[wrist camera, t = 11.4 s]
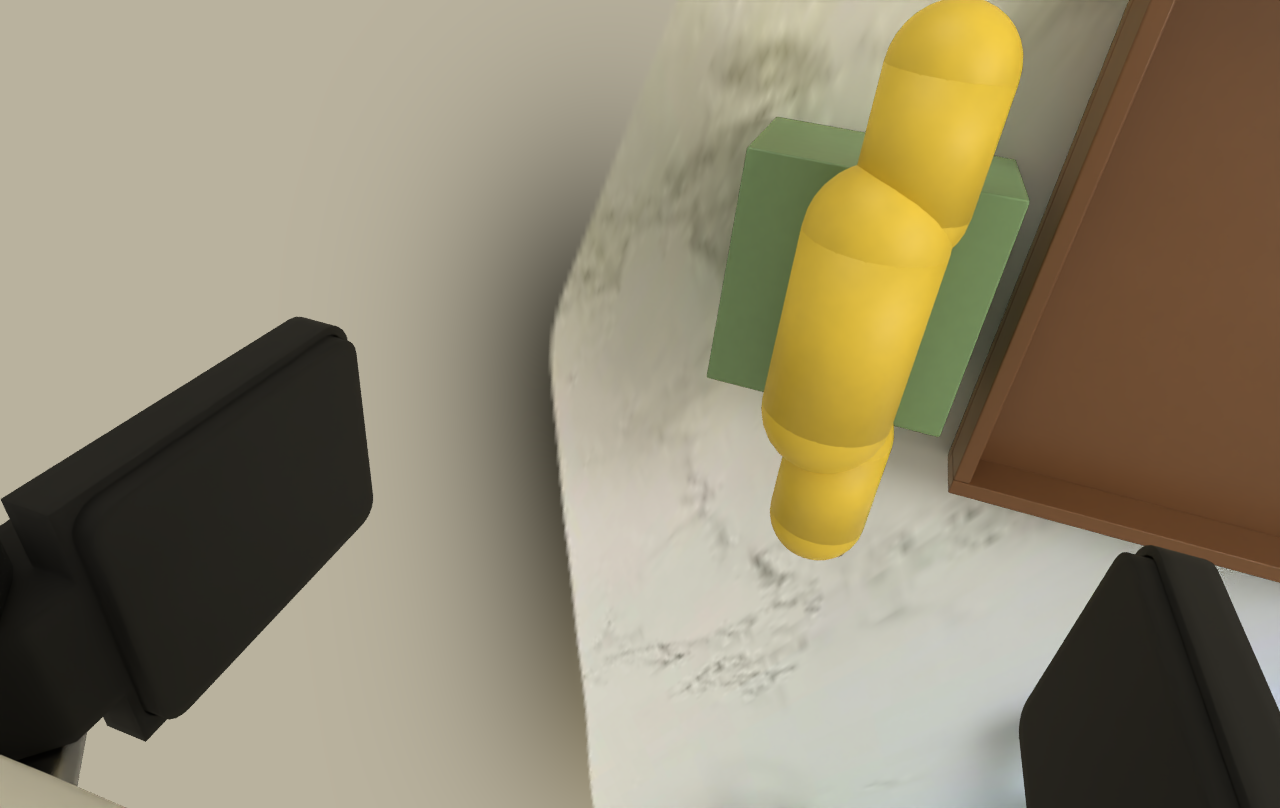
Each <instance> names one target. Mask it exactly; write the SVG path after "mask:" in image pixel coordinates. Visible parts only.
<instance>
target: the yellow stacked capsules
mask: <svg viewBox="0 0 1280 808" xmlns="http://www.w3.org/2000/svg"><path fill="white" fill-rule="evenodd" d="M1022 68H1023V50H1022V43H1021V39H1020V36H1019V34H1018V31H1017V29H1016V27H1015V25H1014V24H1013V23H1012V21H1011V20H1010V18H1009V17H1008V16H1007V15H1006V14H1005V13H1004V12H1003V11H1001V10H1000V9H999V8H998V7H996V6H994V5H992V4H991V3H989V2H987V1H984V0H941V1H939V2H936V3H933V4H931V5H929V6H927V7H925V8H924V9H922V10H920V11H919V12H917V13H916V14H915V15H914V16H912V17H911V18H910V19H909V20H908V21H907V22H906V23H905V24H904V25H903V26H902V27H901V29H900V30H899V31H898V32H897V34H896V35H895V37H894V39H893V40H892V42H891V44H890V46H889V48H888V51H887V54H886V57H885V59H884V62H883V66H882V70H881V74H880V78H879V82H878V86H877V90H876V94H875V98H874V101H873V105H872V109H871V113H870V117H869V121H868V125H867V129H866V133H865V137H864V140H863V144H862V148H861V152H860V156H859V160H858V164H857V165H855V166H852V167H850V168H848V169H846V170H844V171H842V172H840V173H838V174H837V175H836V176H835V177H833V178H832V179H831V180H829V181H828V182H827V183H826V184H824V186H823V187H822V188H821V189H820V190H819V191H818V192H817V194H816V195H815V196H814V198H813V199H812V201H811V203H810V205H809V206H808V208H807V211H806V214H805V217H804V220H803V223H802V226H801V230H800V235H799V239H798V243H797V248H796V252H795V257H794V261H793V266H792V270H791V274H790V279H789V283H788V288H787V292H786V296H785V301H784V305H783V310H782V314H781V318H780V323H779V327H778V332H777V336H776V340H775V345H774V349H773V354H772V358H771V362H770V367H769V371H768V376H767V380H766V384H765V389H764V393H763V398H762V407H761V409H762V418H763V425H764V428H765V431H766V433H767V436H768V438H769V440H770V442H771V443H772V444H773V446H774V447H775V449H776V450H777V451H778V453H779V454H780V455H782V456H783V457H782V461H781V465H780V468H779V472H778V476H777V480H776V484H775V488H774V492H773V496H772V500H771V506H770V517H771V524H772V526H773V529H774V531H775V534H776V536H777V537H778V539H779V540H780V541H781V543H782V544H783V545H784V546H785V547H786V548H787V549H789V550H790V551H791V552H793V553H794V554H796V555H798V556H801V557H803V558H807V559H811V560H827V559H832V558H835V557H839V556H841V555H843V554H844V553H845V552H846V551H848V550H849V549H851V547H852V546H853V545H854V544H855V543H856V542H857V541H858V539H859V537H860V535H861V533H862V531H863V529H864V526H865V523H866V520H867V517H868V515H869V512H870V509H871V506H872V503H873V500H874V497H875V494H876V492H877V489H878V486H879V483H880V480H881V477H882V474H883V472H884V469H885V466H886V463H887V460H888V457H889V454H890V451H891V449H892V445H893V440H894V424H893V422H894V419H895V416H896V413H897V410H898V408H899V405H900V402H901V399H902V396H903V393H904V390H905V387H906V384H907V381H908V378H909V375H910V372H911V370H912V367H913V364H914V361H915V358H916V355H917V352H918V349H919V346H920V343H921V340H922V337H923V335H924V332H925V329H926V326H927V323H928V320H929V317H930V314H931V311H932V308H933V305H934V302H935V300H936V297H937V294H938V291H939V288H940V285H941V282H942V279H943V276H944V273H945V270H946V267H947V264H948V262H949V259H950V255H951V251H952V248H953V247H954V246H955V245H956V244H957V243H958V242H959V241H960V239H961V238H962V237H963V235H964V234H965V232H966V230H967V228H968V225H969V223H970V221H971V219H972V216H973V213H974V211H975V208H976V205H977V202H978V199H979V196H980V193H981V191H982V188H983V185H984V182H985V179H986V176H987V173H988V170H989V168H990V165H991V162H992V159H993V156H994V153H995V150H996V147H997V145H998V142H999V139H1000V136H1001V133H1002V130H1003V127H1004V125H1005V122H1006V119H1007V116H1008V113H1009V110H1010V107H1011V104H1012V102H1013V99H1014V96H1015V93H1016V90H1017V87H1018V84H1019V80H1020V76H1021V72H1022Z"/></svg>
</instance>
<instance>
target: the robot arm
mask: <svg viewBox="0 0 1280 808" xmlns="http://www.w3.org/2000/svg"><path fill="white" fill-rule="evenodd" d="M1 501H2V503H3V505H4V507H5V510H6V512H7V514H8V516H9V518H10V520H8V521H7V522H5V523H4V524H2V525H1V526H0V808H125V807H123V806H121V805H118V804H116V803H114V802H112V801H109V800H107V799H105V798H102V797H100V796H98V795H95V794H93V793H91V792H88V791H86V790H84V789H81V788H79V787H77V785H78V780H79V774H80V768H81V763H82V756H83V752H84V746H85V741H86V735H87V732H88V731H89V730H90V729H91V728H92V727H93V726H94V725H95V724H96V723H97V722H98V721H99V720H100V719H101V718H102V717H104V720H105V722H106V724H107V726H110V727H112V728H114V729H117V730H119V731H122V732H124V733H126V734H129V735H131V736H133V737H136V738H138V739H141V740H143V741H147V740H148V739H149V738H150V737H151V736H152V734H153V733H154V732H155V731H156V730H157V729H158V728H159V727H160V726H161V725H162V724H163V723H164V722H165V721H166V720H167V719H173V718H177V717H178V716H180V715H182V714H183V713H185V712H186V711H187V710H188V709H189V708H190V707H191V706H192V705H193V704H194V703H195V702H196V701H197V700H198V699H199V697H200V696H201V695H202V694H203V693H204V692H205V691H206V690H207V689H208V688H209V687H210V685H212V684H213V683H214V682H215V680H216V679H217V678H218V677H219V676H220V675H221V674H222V673H223V672H224V671H225V670H226V669H227V668H228V667H229V666H230V665H231V663H232V662H233V661H234V660H235V659H236V658H237V657H238V656H239V655H240V654H241V653H242V652H243V651H244V650H245V648H247V646H248V645H249V644H250V643H251V642H252V641H253V640H254V639H255V638H256V637H257V635H259V634H260V633H261V631H263V629H264V628H265V627H266V626H267V625H268V624H269V623H270V622H271V621H272V620H273V619H274V618H275V617H276V616H277V614H278V613H279V612H280V611H281V610H282V609H283V608H284V607H285V606H286V605H287V604H288V603H289V602H290V601H291V599H293V597H295V595H296V594H297V593H298V592H299V591H300V590H301V589H302V588H303V587H304V586H305V585H306V584H307V582H309V580H311V578H312V577H313V576H314V575H315V574H316V573H317V572H318V571H319V570H320V569H321V568H322V567H323V566H324V565H325V564H326V562H327V561H328V560H329V559H330V558H331V557H332V556H333V555H334V554H335V553H336V552H337V551H338V550H339V549H340V547H342V545H343V544H344V543H345V542H346V541H347V540H348V539H349V538H350V537H351V536H352V535H353V534H354V533H355V532H356V531H357V530H358V528H359V527H360V526H361V525H362V524H363V523H364V522H365V520H366V519H367V517H368V515H369V513H370V510H371V508H372V503H373V493H372V483H371V474H370V467H369V458H368V449H367V440H366V432H365V424H364V415H363V406H362V398H361V390H360V381H359V372H358V363H357V355H356V351H355V347H354V345H353V344H352V343H351V342H349V341H348V340H347V337H346V334H345V333H344V331H343V330H342V329H340V328H339V327H337V326H333V325H330V324H326V323H322V322H318V321H315V320H311V319H307V318H303V317H294V318H292V319H289V320H287V321H286V322H284V323H283V324H281V325H280V326H278V327H277V328H275V329H273V330H271V331H270V332H268V333H267V334H265V335H263V336H262V337H260V338H259V339H257V340H255V341H254V342H252V343H251V344H249V345H248V346H246V347H244V348H243V349H241V350H239V351H238V352H236V353H235V354H233V355H231V356H230V357H228V358H227V359H225V360H223V361H222V362H220V363H218V364H217V365H215V366H214V367H212V368H210V369H209V370H207V371H206V372H204V373H202V374H201V375H199V376H198V377H196V378H195V379H193V380H191V381H190V382H188V383H186V384H185V385H183V386H182V387H180V388H178V389H177V390H175V391H174V392H172V393H170V394H169V395H167V396H166V397H164V398H162V399H161V400H159V401H157V402H156V403H154V404H153V405H151V406H149V407H148V408H146V409H145V410H143V411H141V412H140V413H138V414H137V415H135V416H133V417H132V418H130V419H129V420H127V421H125V422H124V423H122V424H121V425H119V426H117V427H116V428H114V429H113V430H111V431H109V432H108V433H106V434H104V435H103V436H101V437H100V438H98V439H96V440H95V441H93V442H92V443H90V444H88V445H87V446H85V447H84V448H82V449H80V450H79V451H77V452H76V453H74V454H72V455H71V456H69V457H68V458H66V459H64V460H63V461H61V462H60V463H58V464H56V465H55V466H53V467H52V468H50V469H48V470H47V471H45V472H44V473H42V474H40V475H39V476H37V477H35V478H34V479H32V480H31V481H29V482H27V483H26V484H24V485H23V486H21V487H19V488H18V489H16V490H15V491H13V492H11V493H10V494H8V495H7V496H5V497H3V498H2V499H1ZM1019 740H1020V750H1021V759H1022V768H1023V778H1024V787H1025V797H1026V806H1027V808H1280V711H1279V709H1278V707H1277V704H1276V702H1275V700H1274V698H1273V695H1272V693H1271V691H1270V688H1269V686H1268V684H1267V682H1266V679H1265V677H1264V675H1263V672H1262V670H1261V668H1260V666H1259V663H1258V661H1257V659H1256V656H1255V654H1254V652H1253V650H1252V647H1251V645H1250V643H1249V640H1248V638H1247V636H1246V634H1245V631H1244V629H1243V627H1242V624H1241V622H1240V620H1239V618H1238V615H1237V613H1236V611H1235V609H1234V606H1233V604H1232V602H1231V599H1230V597H1229V595H1228V593H1227V590H1226V588H1225V586H1224V583H1223V581H1222V579H1221V577H1220V574H1219V572H1218V570H1217V568H1216V567H1215V565H1214V564H1213V563H1212V562H1210V561H1208V560H1206V559H1202V558H1199V557H1195V556H1191V555H1187V554H1184V553H1180V552H1176V551H1173V550H1169V549H1165V548H1161V547H1158V546H1154V545H1145V546H1144V547H1142V548H1141V549H1139V550H1138V552H1137V553H1136V554H1131V553H1128V552H1124V553H1121V554H1120V555H1118V556H1117V558H1116V559H1115V560H1114V562H1113V563H1112V565H1111V566H1110V568H1109V570H1108V571H1107V573H1106V574H1105V576H1104V578H1103V579H1102V581H1101V582H1100V584H1099V586H1098V587H1097V589H1096V590H1095V592H1094V594H1093V595H1092V597H1091V598H1090V600H1089V602H1088V603H1087V605H1086V606H1085V608H1084V610H1083V611H1082V613H1081V614H1080V616H1079V618H1078V619H1077V621H1076V622H1075V624H1074V626H1073V627H1072V629H1071V630H1070V632H1069V634H1068V635H1067V637H1066V638H1065V640H1064V642H1063V643H1062V645H1061V646H1060V648H1059V650H1058V651H1057V653H1056V655H1055V656H1054V658H1053V659H1052V661H1051V663H1050V664H1049V666H1048V667H1047V669H1046V671H1045V672H1044V674H1043V675H1042V677H1041V679H1040V680H1039V682H1038V683H1037V685H1036V687H1035V688H1034V690H1033V691H1032V693H1031V695H1030V696H1029V698H1028V699H1027V701H1026V703H1025V705H1024V707H1023V710H1022V713H1021V718H1020V724H1019Z"/></svg>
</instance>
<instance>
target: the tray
mask: <svg viewBox="0 0 1280 808" xmlns="http://www.w3.org/2000/svg"><path fill="white" fill-rule="evenodd" d="M948 492H949V493H953V494H956V495H960V496H964V497H967V498H971V499H975V500H978V501H982V502H986V503H989V504H993V505H997V506H1000V507H1004V508H1008V509H1011V510H1015V511H1019V512H1022V513H1026V514H1030V515H1033V516H1037V517H1041V518H1044V519H1048V520H1052V521H1055V522H1059V523H1063V524H1066V525H1070V526H1074V527H1077V528H1081V529H1085V530H1088V531H1092V532H1096V533H1099V534H1103V535H1107V536H1110V537H1114V538H1118V539H1121V540H1125V541H1129V542H1132V543H1136V544H1140V545H1143V546H1145V545H1154V546H1158V547H1161V548H1165V549H1169V550H1173V551H1176V552H1180V553H1184V554H1187V555H1191V556H1195V557H1199V558H1202V559H1206V560H1208V561H1210V562H1212V563H1213V564H1214V565H1217V566H1220V567H1224V568H1228V569H1231V570H1235V571H1239V572H1242V573H1246V574H1250V575H1253V576H1257V577H1261V578H1264V579H1268V580H1272V581H1275V582H1279V583H1280V0H1129V2H1128V4H1127V7H1126V9H1125V12H1124V14H1123V17H1122V19H1121V22H1120V24H1119V27H1118V29H1117V32H1116V34H1115V37H1114V39H1113V42H1112V44H1111V47H1110V49H1109V52H1108V54H1107V57H1106V59H1105V62H1104V64H1103V67H1102V69H1101V72H1100V74H1099V77H1098V79H1097V82H1096V84H1095V87H1094V89H1093V92H1092V94H1091V97H1090V100H1089V102H1088V105H1087V107H1086V110H1085V112H1084V115H1083V117H1082V120H1081V122H1080V125H1079V127H1078V130H1077V132H1076V135H1075V137H1074V140H1073V142H1072V145H1071V147H1070V150H1069V152H1068V155H1067V157H1066V160H1065V162H1064V165H1063V167H1062V170H1061V172H1060V175H1059V177H1058V180H1057V182H1056V185H1055V187H1054V190H1053V192H1052V195H1051V197H1050V200H1049V202H1048V205H1047V207H1046V210H1045V213H1044V215H1043V218H1042V220H1041V223H1040V225H1039V228H1038V230H1037V233H1036V235H1035V238H1034V240H1033V243H1032V245H1031V248H1030V250H1029V253H1028V255H1027V258H1026V260H1025V263H1024V265H1023V268H1022V270H1021V273H1020V275H1019V278H1018V280H1017V283H1016V285H1015V288H1014V290H1013V293H1012V295H1011V298H1010V300H1009V303H1008V305H1007V308H1006V310H1005V313H1004V315H1003V318H1002V320H1001V323H1000V326H999V328H998V331H997V333H996V336H995V338H994V341H993V343H992V346H991V348H990V351H989V353H988V356H987V358H986V361H985V363H984V366H983V368H982V371H981V373H980V376H979V378H978V381H977V383H976V386H975V388H974V391H973V393H972V396H971V398H970V401H969V403H968V406H967V408H966V411H965V413H964V416H963V418H962V421H961V423H960V426H959V428H958V431H957V433H956V436H955V439H954V441H953V444H952V446H951V449H950V451H949V454H948Z"/></svg>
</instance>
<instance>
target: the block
mask: <svg viewBox="0 0 1280 808" xmlns="http://www.w3.org/2000/svg"><path fill="white" fill-rule="evenodd" d="M864 137H865V133H864V132H858V131H853V130H847V129H842V128H836V127H831V126H825V125H820V124H814V123H808V122H803V121H797V120H792V119H786V118H781V117H776V118H775V119H774V120H773V121H772V122H771V123H770V124H769V126H768V127H767V128H766V129H765V130H764V131H763V132H762V133H761V134H760V135H759V136H758V137H757V138H756V139H755V140H754V141H753V142H752V144H751V145H750V146H749V147H748V148H747V151H746V157H745V162H744V168H743V174H742V179H741V185H740V191H739V196H738V202H737V208H736V213H735V219H734V225H733V230H732V236H731V242H730V247H729V253H728V259H727V264H726V270H725V276H724V281H723V287H722V293H721V298H720V304H719V310H718V315H717V321H716V327H715V332H714V338H713V344H712V349H711V355H710V361H709V366H708V372H707V377H708V378H711V379H715V380H719V381H723V382H727V383H731V384H734V385H738V386H742V387H746V388H750V389H754V390H758V391H762V392H764V389H765V384H766V380H767V376H768V371H769V367H770V362H771V358H772V354H773V349H774V345H775V340H776V336H777V332H778V327H779V323H780V318H781V314H782V310H783V305H784V301H785V296H786V292H787V288H788V283H789V279H790V274H791V270H792V266H793V261H794V257H795V252H796V248H797V243H798V239H799V235H800V230H801V226H802V223H803V220H804V217H805V214H806V211H807V208H808V206H809V205H810V203H811V201H812V199H813V198H814V196H815V195H816V194H817V192H818V191H819V190H820V189H821V188H822V187H823V186H824V184H826V183H827V182H828V181H829V180H831V179H832V178H833V177H835V176H836V175H837V174H838V173H840V172H842V171H844V170H846V169H848V168H850V167H852V166H855V165H857V164H858V160H859V156H860V152H861V148H862V144H863V140H864ZM1029 203H1030V201H1029V198H1028V195H1027V192H1026V189H1025V186H1024V183H1023V180H1022V177H1021V174H1020V171H1019V169H1018V166H1017V163H1016V160H1014V159H1009V158H1003V157H998V156H993V159H992V162H991V165H990V168H989V170H988V173H987V176H986V179H985V182H984V185H983V188H982V191H981V193H980V196H979V199H978V202H977V205H976V208H975V211H974V213H973V216H972V219H971V221H970V223H969V225H968V228H967V230H966V232H965V234H964V235H963V237H962V238H961V239H960V241H959V242H958V243H957V244H956V245H955V246H954V247H953V248H952V251H951V255H950V259H949V262H948V264H947V267H946V270H945V273H944V276H943V279H942V282H941V285H940V288H939V291H938V294H937V297H936V300H935V302H934V305H933V308H932V311H931V314H930V317H929V320H928V323H927V326H926V329H925V332H924V335H923V337H922V340H921V343H920V346H919V349H918V352H917V355H916V358H915V361H914V364H913V367H912V370H911V372H910V375H909V378H908V381H907V384H906V387H905V390H904V393H903V396H902V399H901V402H900V405H899V408H898V410H897V413H896V416H895V419H894V422H893V424H894V426H897V427H901V428H905V429H909V430H912V431H916V432H920V433H924V434H928V435H932V436H936V437H939V436H940V435H941V432H942V429H943V427H944V424H945V422H946V419H947V416H948V414H949V411H950V409H951V406H952V403H953V401H954V398H955V396H956V393H957V390H958V388H959V385H960V383H961V380H962V377H963V375H964V372H965V370H966V367H967V364H968V362H969V359H970V357H971V354H972V352H973V349H974V346H975V344H976V341H977V339H978V336H979V333H980V331H981V328H982V326H983V323H984V320H985V318H986V315H987V313H988V310H989V307H990V305H991V302H992V300H993V297H994V294H995V292H996V289H997V287H998V284H999V281H1000V279H1001V276H1002V274H1003V271H1004V268H1005V266H1006V263H1007V261H1008V258H1009V255H1010V253H1011V250H1012V248H1013V245H1014V242H1015V240H1016V237H1017V235H1018V232H1019V229H1020V227H1021V224H1022V222H1023V219H1024V216H1025V214H1026V211H1027V209H1028V206H1029Z"/></svg>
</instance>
